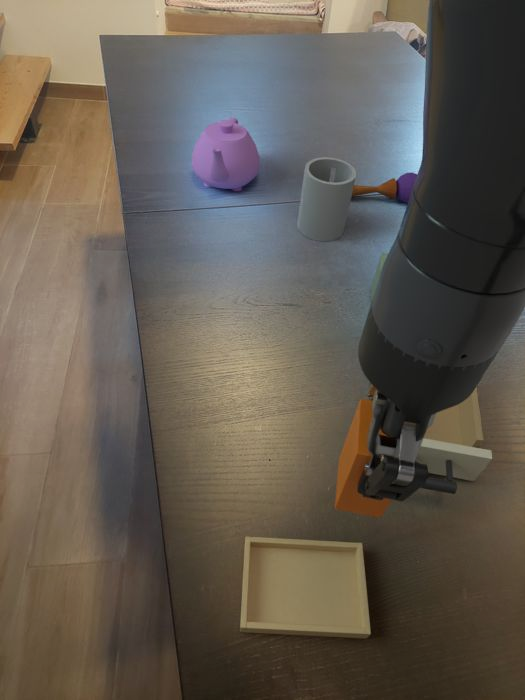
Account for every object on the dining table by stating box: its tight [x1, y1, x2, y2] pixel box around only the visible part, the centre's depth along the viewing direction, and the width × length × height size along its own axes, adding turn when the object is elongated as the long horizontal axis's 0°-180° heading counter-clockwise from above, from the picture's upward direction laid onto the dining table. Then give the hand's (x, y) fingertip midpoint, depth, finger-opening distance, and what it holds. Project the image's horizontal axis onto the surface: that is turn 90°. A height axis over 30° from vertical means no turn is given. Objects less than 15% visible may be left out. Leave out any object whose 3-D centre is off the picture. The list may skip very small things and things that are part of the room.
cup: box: [296, 156, 357, 242], centre depth 95 cm, size 9×9×12 cm
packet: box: [334, 398, 393, 519], centre depth 42 cm, size 5×4×10 cm
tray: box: [239, 536, 372, 639], centre depth 55 cm, size 13×9×2 cm
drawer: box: [415, 386, 493, 495], centre depth 67 cm, size 22×13×6 cm, turn 170°
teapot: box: [191, 117, 261, 192], centre depth 103 cm, size 20×14×12 cm
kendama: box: [351, 172, 418, 204], centre depth 105 cm, size 6×6×20 cm
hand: (372, 459), depth 42 cm, fingers closed on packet, 5 cm apart
